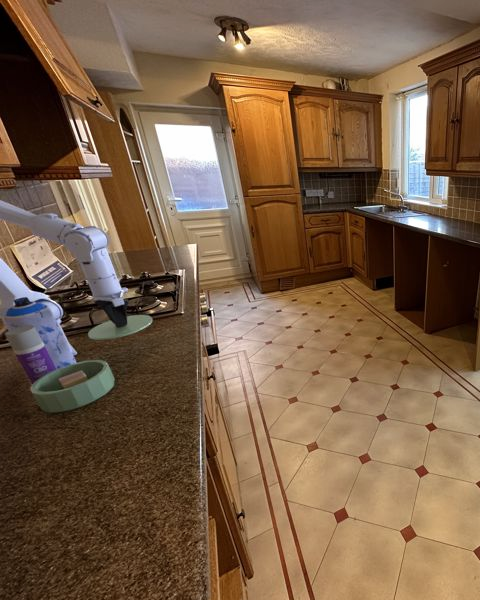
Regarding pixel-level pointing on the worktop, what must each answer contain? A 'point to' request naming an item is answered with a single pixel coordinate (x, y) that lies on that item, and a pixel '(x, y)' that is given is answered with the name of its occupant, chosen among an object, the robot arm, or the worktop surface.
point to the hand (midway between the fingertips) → (120, 324)
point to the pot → (77, 394)
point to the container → (30, 352)
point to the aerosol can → (41, 328)
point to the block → (73, 379)
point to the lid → (120, 328)
